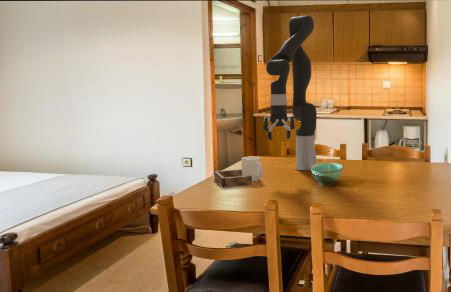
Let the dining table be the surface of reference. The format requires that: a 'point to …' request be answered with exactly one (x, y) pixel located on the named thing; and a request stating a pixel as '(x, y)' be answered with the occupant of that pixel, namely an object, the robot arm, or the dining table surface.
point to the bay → (232, 178)
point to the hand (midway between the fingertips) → (278, 139)
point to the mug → (252, 168)
